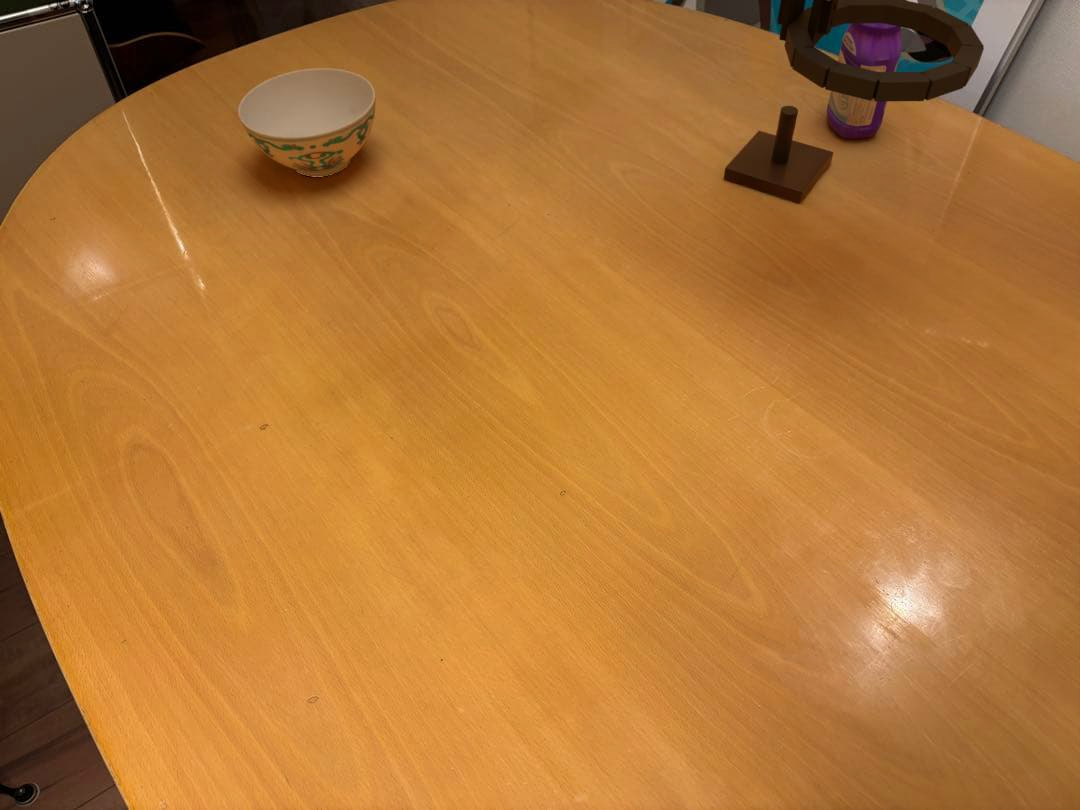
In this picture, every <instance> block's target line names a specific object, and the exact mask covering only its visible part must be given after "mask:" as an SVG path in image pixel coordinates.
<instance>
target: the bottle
mask: <svg viewBox="0 0 1080 810" xmlns="http://www.w3.org/2000/svg"><path fill="white" fill-rule="evenodd" d="M901 31H902V27H898V26H893V25H889V24H884V23H864V24H849V26H848V27H847V29H846V30H845V32H844V34H843V37H842V40H841V46H840V50H839V56H838V60H837V61H838V62H839V63H843V64H847V65H851V66H856V67H860V68H864V69H868V70H872V71H877V72H897V67H898V65H899V60H900V58H901V53H902V32H901ZM887 104H888V101H880V102H875V101H874V98H873V99H872V100H871V101H869V100H865V99H861V98H857V97H853V96H849V95H845V94H841V93H837V92H833V91H830V94H829V99H828V103H827V105H826V117H827V118H826V119H827V121H828V124H829V126H830V127H831V129H832V130H833V131H834V132H835V133H836V134H838V136H840V137H842V138H845V139H865V138H870V137H872V136H875V135H876V134H877V132H878V131H879V130H880V128H881V126H882V125H883V118H884V115H885V112H886V108H887Z"/></svg>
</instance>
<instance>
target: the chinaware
mask: <svg viewBox="0 0 1080 810" xmlns="http://www.w3.org/2000/svg"><path fill="white" fill-rule="evenodd" d="M237 114H238V118H239V121H240V123H241V124H242V126H243V128H244V130H245V132H246V134H248V136H249V137H250V139H251V140H252V142H253V143H254V144H255V145H256V146H257V147H258V148H259V149H260V151H262V152H263V153H264V154H265V155H266V156H268V157H269V158H270V159H272V160H273V161H274V162H276V163H279V164H280V165H283V166H284V167H286V168H289V169H293V170H294V169H295V170H296V171H298V172H299V173H302V174H305V175H309V176H317V177H318V176H327V175H330V174H333V173H337V172H339V171H341V170H342V171H344V170H345V169H346V168H348V166H349V165H350V163H351V161H350V160H352V158H353V157H354V156H355V155H356V154H357V153H358V152H359V151H360V150H361V149H362V148H363V146H364V145H365V143H366V141H367V139H368V138H369V136H370V133H371V132H372V131H371V130H372V128H373V124H374V119H375V114H376V90H375V88H374V86H373V85H372V83H371V82H370V81H369V80H368V79H367V78H365V77H364V76H362V75H360V74H358V73H356V72H352V71H349V70H345V69H338V68H330V67H329V68H327V67H317V68H305V69H298V70H293V71H289V72H286V73H282V74H279V75H276V76H273V77H271V78H269V79H267V80H265V81H262V82H261V83H259V84H257V85H256V86H254V87H253V88H251V89H250V90H249V91H248V92H247V93H246V94H245V95H244V96H243V98H242V99H241V100H240V102H239V105H238V109H237ZM348 164H349V165H348ZM344 168H345V169H344ZM343 169H344V170H343ZM295 170H294V171H295ZM296 171H295V172H296ZM342 171H341V172H342ZM339 173H340V172H339ZM337 174H338V173H337Z"/></svg>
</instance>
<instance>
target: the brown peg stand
mask: <svg viewBox="0 0 1080 810" xmlns="http://www.w3.org/2000/svg"><path fill="white" fill-rule="evenodd" d="M798 114H799V109H798V108H797V107H796V106H793V105H783V106H782V107H781V108H780V111H779V118H778V122H777V126H776V127H777V128H776V133H775V134H772V133H768V132H766V131H762V130H758V131H757V132H756V133H755V134H754V135H753V136H752V137H751V138H750V140H749V141H748V142H747V143H746V144H745V145H744V147H742V148H741V149H740V151H739V152H738V153H737V154H736V155H735V156H734V158H732V160H731V161H730V162H729V163H728V164H727V165H726V166H725V167H724V174H723V180H724V181H728V182H730V183H734V184H737V185H740V186H744V187H747V188H750V189H753V190H756V191H759V192H763V193H766V194H768V195H772V196H775V197H778V198H782V199H785V200H788V201H790V202H794V203H797V204H801V203H802V201H803V200H804V199H805V198H806V197H807V195H808V194H809V192H810V191H811V190H812V189H813V187H814V186H815V184H816V183H817V182H818V181H819V179H820V178H821V177H822V176H823V174H824V173H825V172H826V170H827V169H828V168H829V167H830V165H831V164H832V160H833V156H834V151H831V150H828V149H825V148H821V147H818V146H814V145H811V144H807V143H804V142H801V141H796V140H793V139H794V134H795V129H796V124H797V120H798Z"/></svg>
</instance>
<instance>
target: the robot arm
mask: <svg viewBox="0 0 1080 810" xmlns="http://www.w3.org/2000/svg"><path fill="white" fill-rule="evenodd" d="M806 1H807V0H780V3H779V8H778V13H777V25H779V26H781V27H780V33H779V40H780V41H784V42H785V40H786V34H787V29H788V26H789V25H790V24H791V23H792V22H793V21H794V20H795V19H796V18H797V17H798V16H799V15H800V14H801V13H802V12H803V11H804V9H805V6H806V3H807V2H806ZM837 4H838V0H813V1H812V3H811V7H812V9H811V14H810V19H809V24H808V32H809V35H810V38H811V40H812V43H813V46H814V47H815V46H816V45H817V44H818V42H819V41H820V40H821V39H823V37H824V36H828V35H829V34H830V33H831V31H832V29H833V28H832V26H833V23H834V18H835V13H836V9H837Z"/></svg>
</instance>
